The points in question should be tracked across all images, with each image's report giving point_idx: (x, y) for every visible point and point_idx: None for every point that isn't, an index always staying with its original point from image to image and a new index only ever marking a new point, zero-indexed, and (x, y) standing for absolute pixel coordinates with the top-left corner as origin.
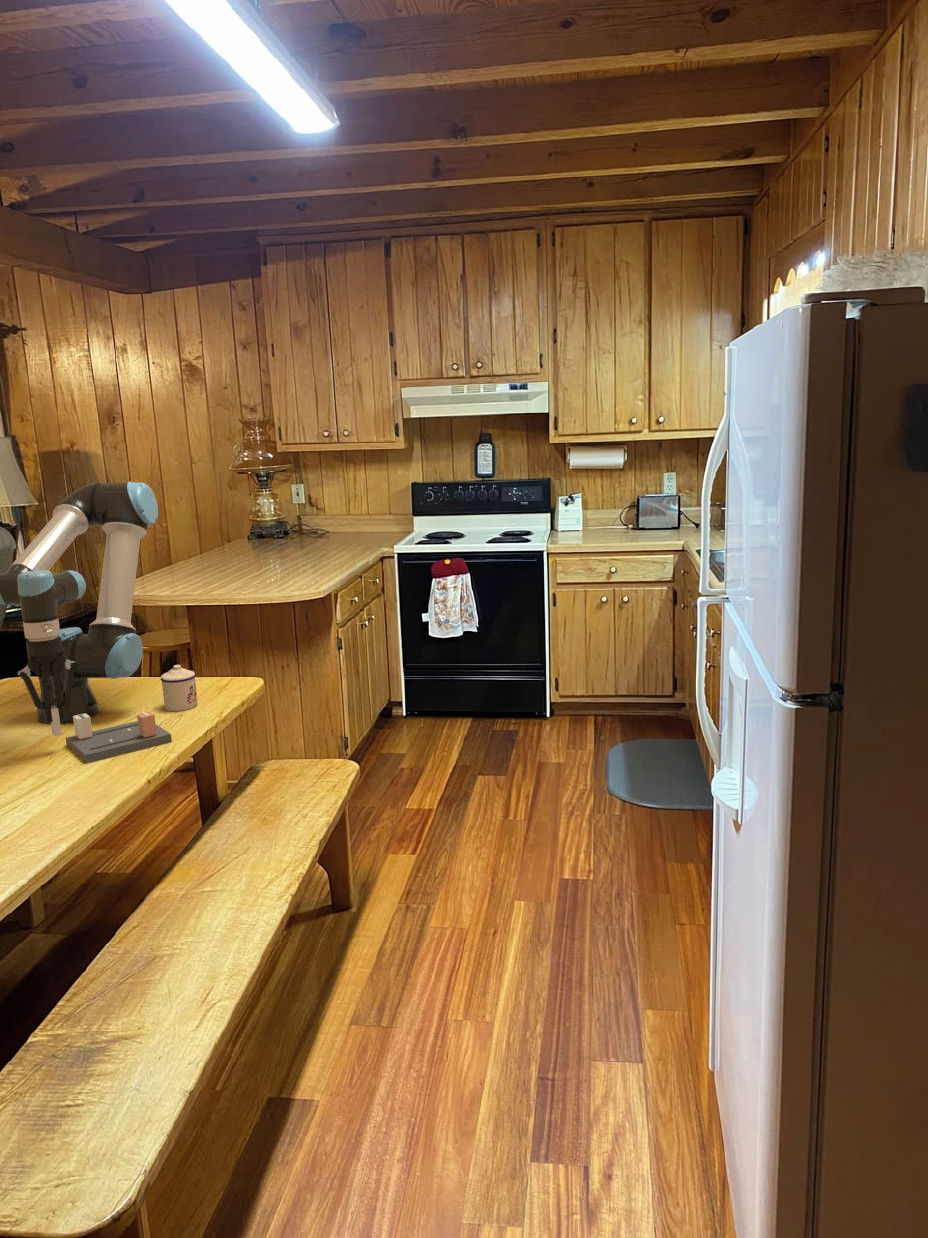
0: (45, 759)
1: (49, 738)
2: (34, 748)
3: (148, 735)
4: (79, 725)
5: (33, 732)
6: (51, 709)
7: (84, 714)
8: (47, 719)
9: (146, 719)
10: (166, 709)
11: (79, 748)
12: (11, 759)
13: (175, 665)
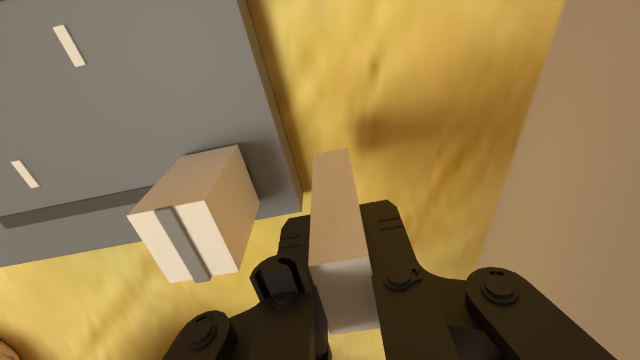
0: (397, 64)
1: None
2: (412, 219)
3: None
4: (209, 180)
5: None
6: (367, 267)
7: (173, 269)
8: (394, 215)
9: None
10: (9, 348)
11: (231, 6)
12: (513, 144)
13: None
